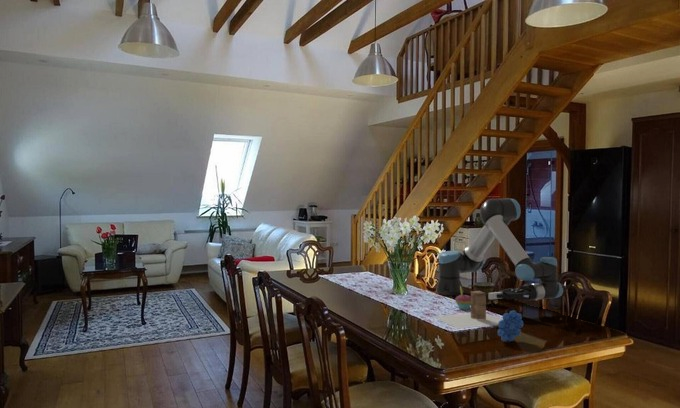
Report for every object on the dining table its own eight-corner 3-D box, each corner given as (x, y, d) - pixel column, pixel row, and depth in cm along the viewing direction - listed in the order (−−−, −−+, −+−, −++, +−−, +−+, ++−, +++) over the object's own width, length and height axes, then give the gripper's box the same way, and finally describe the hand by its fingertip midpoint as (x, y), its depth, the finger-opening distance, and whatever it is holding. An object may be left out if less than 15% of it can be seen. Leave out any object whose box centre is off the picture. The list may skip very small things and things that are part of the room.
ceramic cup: (491, 301, 252) (491, 282, 252) (495, 305, 242) (495, 285, 242) (466, 300, 254) (466, 281, 253) (469, 305, 244) (469, 285, 243)
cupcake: (453, 310, 234) (453, 285, 233) (457, 306, 241) (457, 282, 241) (471, 312, 230) (471, 287, 229) (474, 308, 237) (474, 284, 237)
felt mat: (433, 318, 220) (433, 316, 220) (482, 312, 228) (482, 311, 228) (457, 330, 201) (457, 328, 201) (509, 323, 209) (509, 322, 209)
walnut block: (470, 317, 218) (470, 291, 217) (479, 316, 219) (479, 290, 219) (477, 320, 213) (477, 293, 213) (485, 319, 214) (485, 293, 214)
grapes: (515, 336, 192) (515, 306, 191) (527, 341, 185) (527, 310, 185) (490, 339, 188) (490, 309, 188) (502, 344, 182) (502, 313, 181)
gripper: (542, 303, 219) (498, 307, 211) (522, 297, 231) (480, 301, 223) (542, 286, 218) (498, 290, 211) (522, 281, 231) (480, 285, 223)
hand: (489, 296), depth 217 cm, fingers closed
